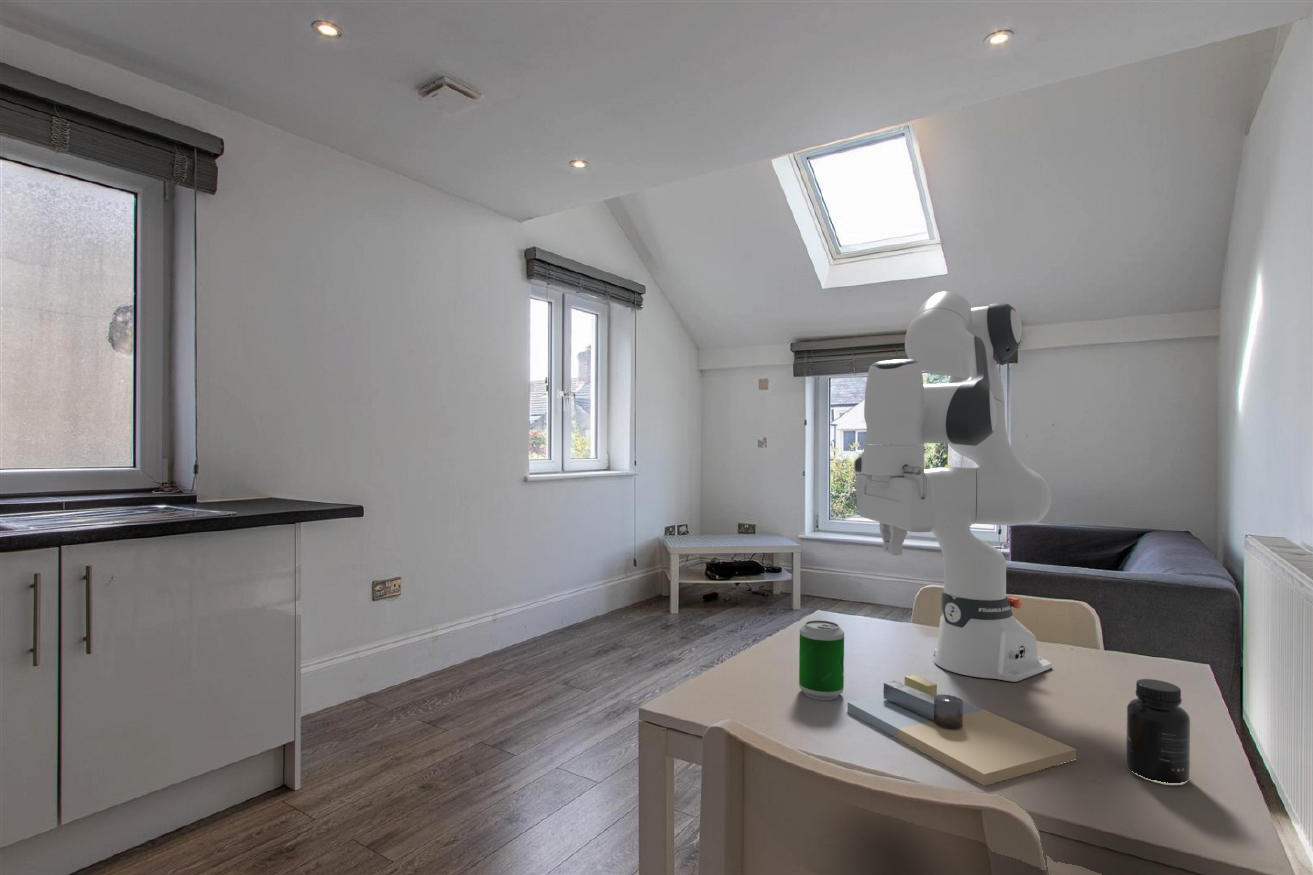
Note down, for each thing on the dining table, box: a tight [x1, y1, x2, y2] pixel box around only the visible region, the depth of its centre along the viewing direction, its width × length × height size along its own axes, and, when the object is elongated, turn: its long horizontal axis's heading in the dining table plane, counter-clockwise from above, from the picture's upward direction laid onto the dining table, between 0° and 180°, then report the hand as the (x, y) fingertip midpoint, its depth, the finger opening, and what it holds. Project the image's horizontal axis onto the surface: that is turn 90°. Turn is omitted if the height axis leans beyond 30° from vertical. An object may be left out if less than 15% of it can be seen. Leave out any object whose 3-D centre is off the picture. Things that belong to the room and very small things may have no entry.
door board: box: [847, 674, 1077, 787], centre depth 103 cm, size 18×26×4 cm
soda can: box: [798, 619, 845, 701], centre depth 118 cm, size 8×8×12 cm
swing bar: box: [883, 680, 964, 729], centre depth 106 cm, size 14×4×4 cm, turn 28°
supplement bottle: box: [1125, 678, 1191, 783], centre depth 91 cm, size 7×7×12 cm
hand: (892, 553), depth 105 cm, fingers closed
